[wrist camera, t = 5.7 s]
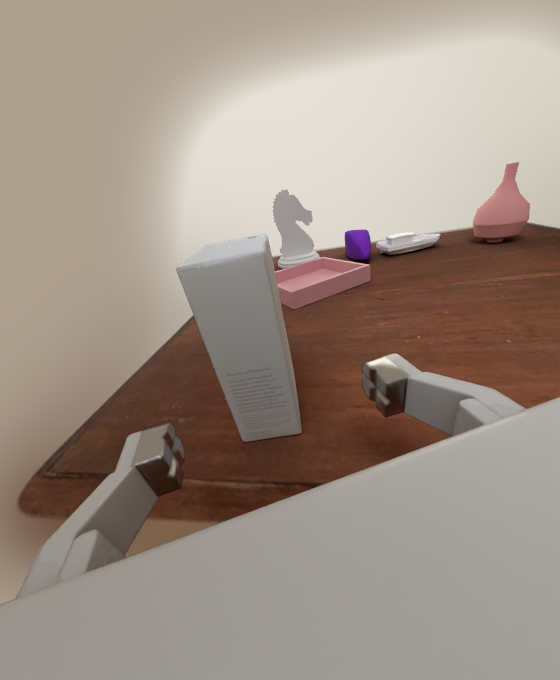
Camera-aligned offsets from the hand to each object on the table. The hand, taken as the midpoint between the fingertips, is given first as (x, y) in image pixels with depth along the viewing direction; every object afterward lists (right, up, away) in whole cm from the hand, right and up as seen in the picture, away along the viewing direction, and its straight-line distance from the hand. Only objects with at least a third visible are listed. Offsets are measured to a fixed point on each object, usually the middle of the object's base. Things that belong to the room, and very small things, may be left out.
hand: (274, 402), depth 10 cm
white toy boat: (+27, +21, +41) cm, 53 cm away
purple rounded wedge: (+17, +20, +43) cm, 51 cm away
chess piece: (+5, +21, +48) cm, 53 cm away
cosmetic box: (0, -3, +9) cm, 9 cm away
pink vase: (+40, +21, +36) cm, 58 cm away
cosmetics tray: (+6, +12, +32) cm, 34 cm away
